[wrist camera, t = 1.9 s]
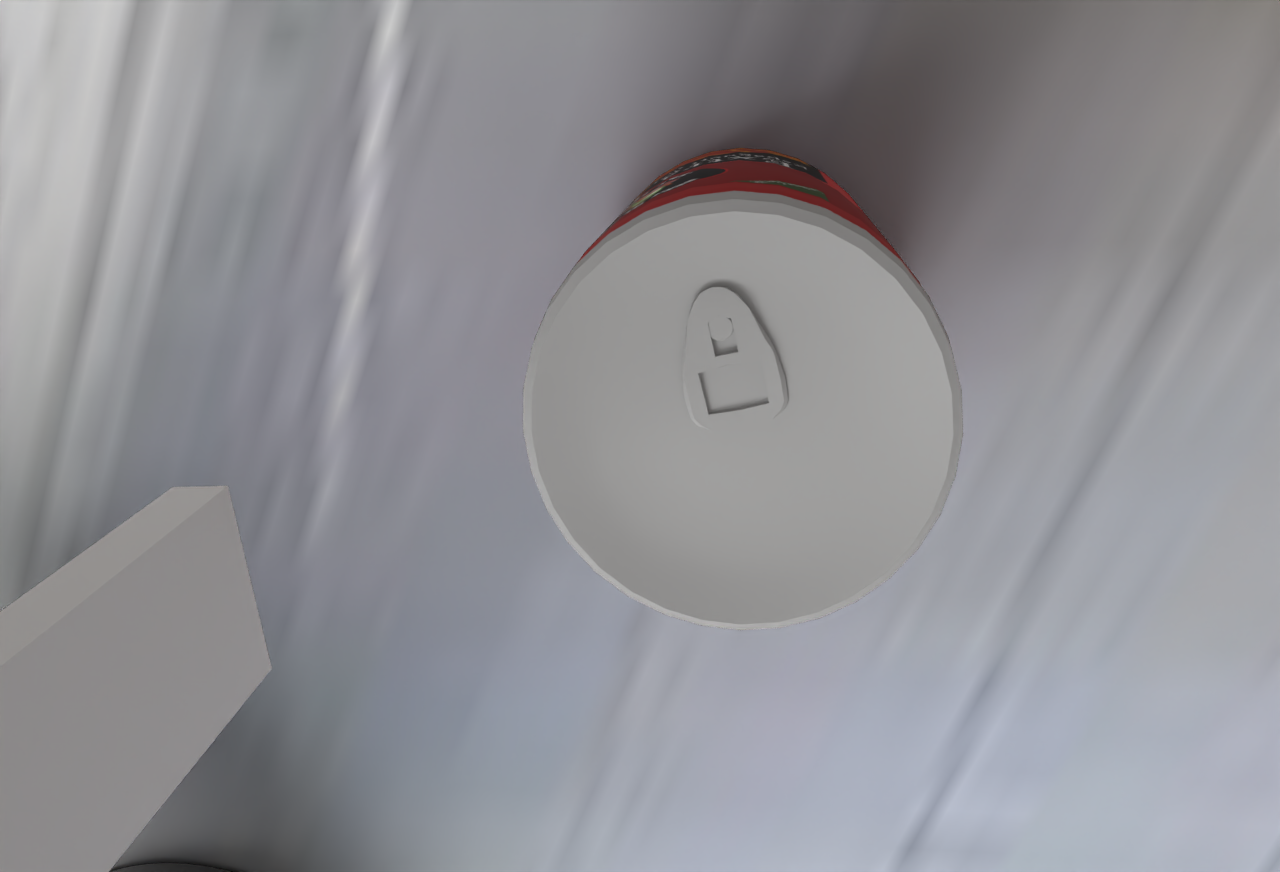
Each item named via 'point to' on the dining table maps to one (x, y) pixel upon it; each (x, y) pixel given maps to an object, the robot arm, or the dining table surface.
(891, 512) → the canned food
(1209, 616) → the dining table surface
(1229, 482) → the dining table surface
